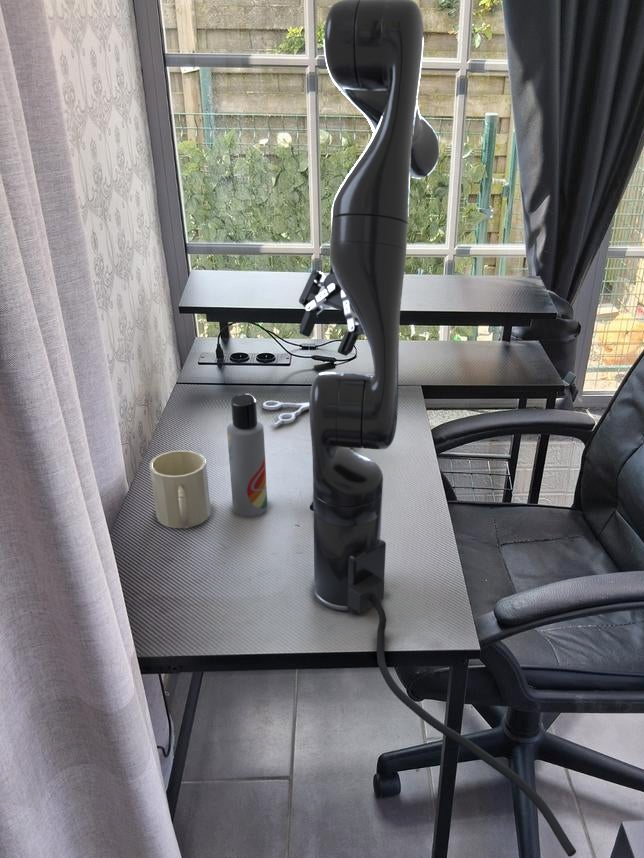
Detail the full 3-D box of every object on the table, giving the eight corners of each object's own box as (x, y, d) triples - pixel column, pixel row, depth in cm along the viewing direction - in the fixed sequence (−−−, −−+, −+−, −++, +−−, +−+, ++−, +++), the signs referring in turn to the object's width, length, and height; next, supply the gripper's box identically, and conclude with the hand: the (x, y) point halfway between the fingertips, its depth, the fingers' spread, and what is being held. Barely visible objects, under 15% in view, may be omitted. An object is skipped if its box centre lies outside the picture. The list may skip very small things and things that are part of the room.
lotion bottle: (274, 508, 132) (269, 398, 122) (247, 521, 129) (240, 409, 118) (252, 495, 136) (246, 386, 125) (226, 507, 132) (216, 397, 121)
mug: (155, 503, 132) (148, 453, 127) (208, 497, 135) (203, 447, 129) (158, 543, 123) (151, 490, 118) (214, 536, 125) (209, 484, 120)
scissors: (254, 403, 164) (340, 385, 173) (254, 407, 165) (340, 389, 173) (275, 424, 157) (363, 404, 165) (275, 427, 157) (363, 408, 166)
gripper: (316, 228, 127) (278, 324, 130) (385, 256, 120) (342, 356, 123) (342, 243, 133) (305, 334, 136) (408, 270, 127) (367, 365, 130)
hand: (322, 344), depth 130 cm, fingers open, 8 cm apart
